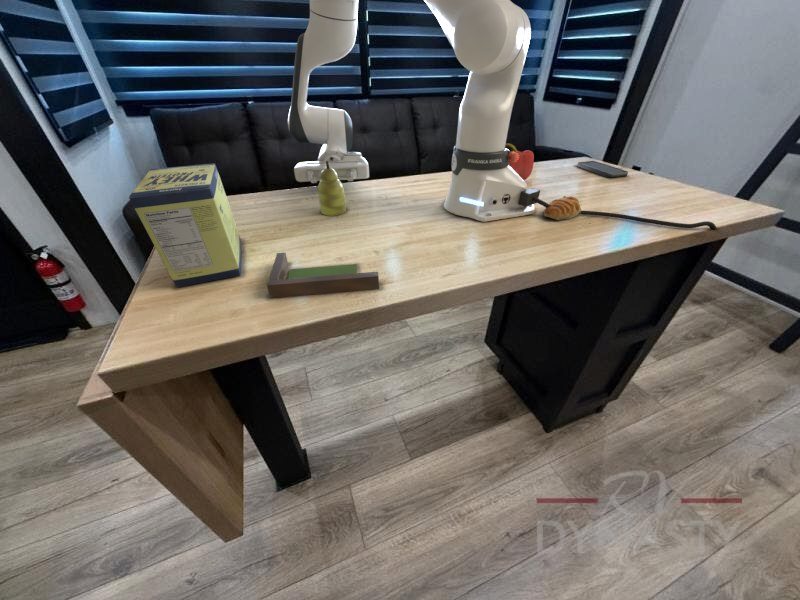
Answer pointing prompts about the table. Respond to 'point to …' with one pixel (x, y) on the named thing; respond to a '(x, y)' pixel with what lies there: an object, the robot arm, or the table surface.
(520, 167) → the vegetable
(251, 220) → the table surface
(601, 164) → the phone
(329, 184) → the pear
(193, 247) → the protein box
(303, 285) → the corner guard
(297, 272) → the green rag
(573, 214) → the pastry
